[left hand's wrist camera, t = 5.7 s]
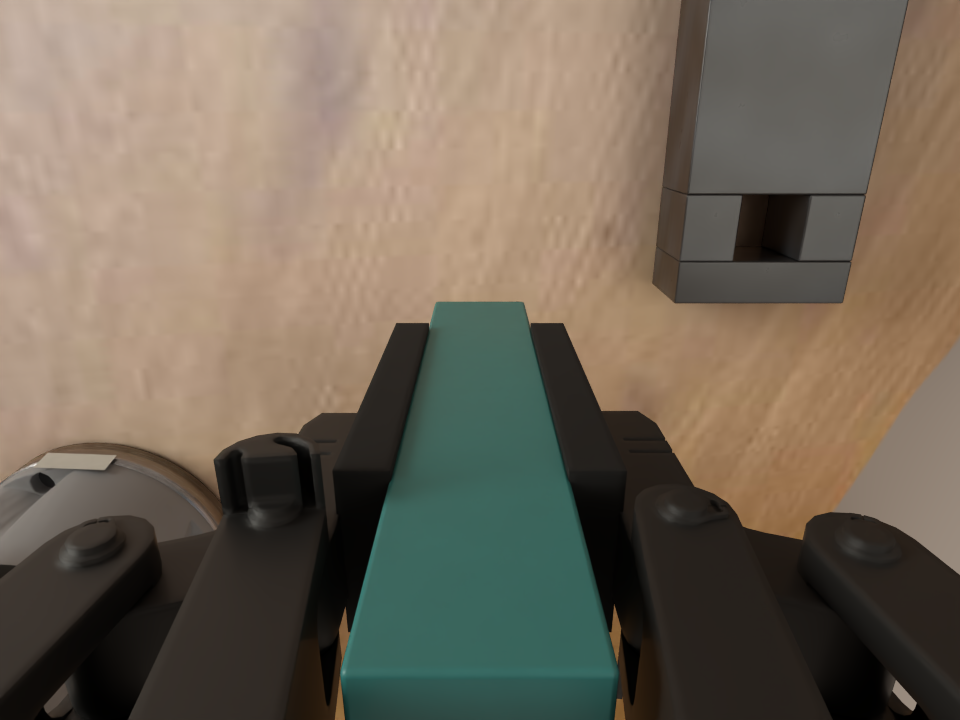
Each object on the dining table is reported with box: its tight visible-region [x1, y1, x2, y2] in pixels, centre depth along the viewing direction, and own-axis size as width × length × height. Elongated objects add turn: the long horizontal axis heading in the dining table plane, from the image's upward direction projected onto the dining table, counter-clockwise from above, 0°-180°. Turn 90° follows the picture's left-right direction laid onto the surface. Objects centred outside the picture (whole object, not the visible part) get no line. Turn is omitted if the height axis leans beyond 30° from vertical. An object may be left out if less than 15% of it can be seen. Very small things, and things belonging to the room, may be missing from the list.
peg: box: [340, 302, 619, 720], centre depth 11 cm, size 2×2×12 cm
